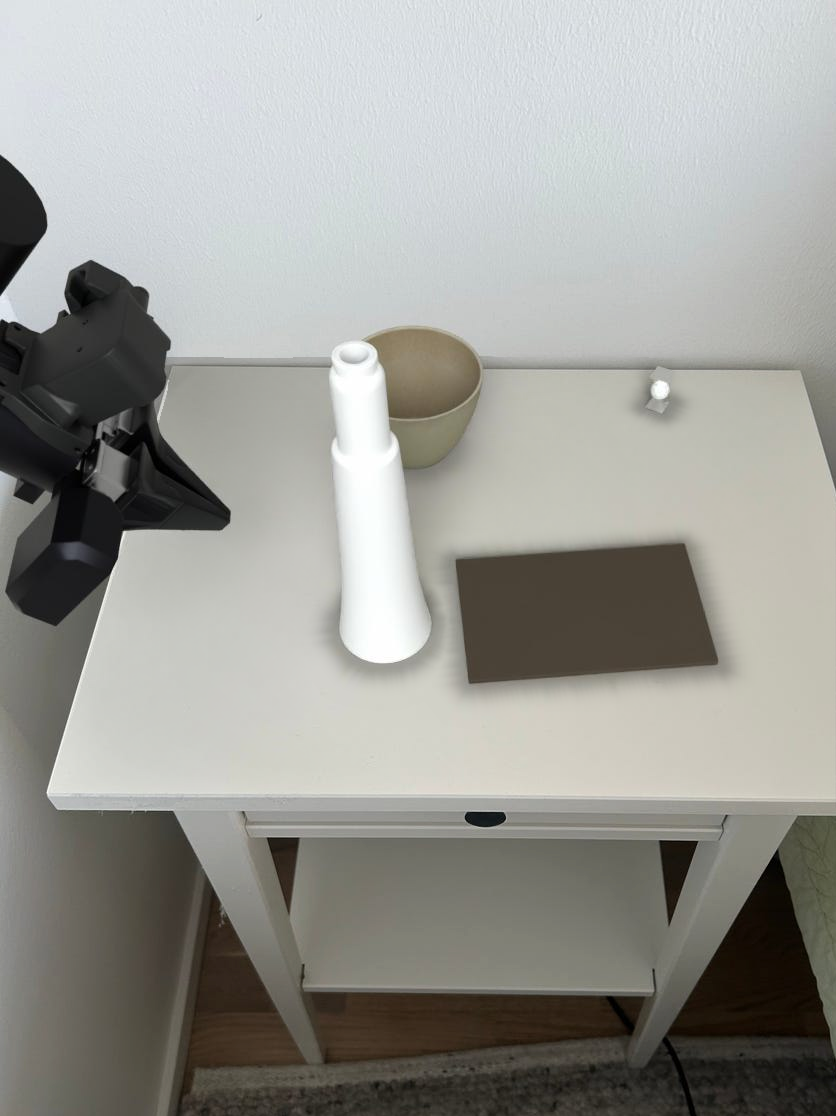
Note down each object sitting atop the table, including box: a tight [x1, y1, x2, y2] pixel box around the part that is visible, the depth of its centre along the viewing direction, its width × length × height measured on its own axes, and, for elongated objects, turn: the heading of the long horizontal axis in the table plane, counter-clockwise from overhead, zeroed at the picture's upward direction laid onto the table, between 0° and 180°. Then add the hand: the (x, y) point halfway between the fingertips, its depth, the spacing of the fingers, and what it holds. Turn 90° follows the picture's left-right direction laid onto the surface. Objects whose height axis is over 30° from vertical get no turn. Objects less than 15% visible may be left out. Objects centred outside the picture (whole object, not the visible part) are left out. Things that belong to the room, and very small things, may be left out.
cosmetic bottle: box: [328, 340, 433, 664], centre depth 57 cm, size 6×6×22 cm
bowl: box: [360, 325, 484, 470], centre depth 73 cm, size 10×10×7 cm
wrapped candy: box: [644, 365, 677, 414], centre depth 77 cm, size 2×2×3 cm
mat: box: [455, 543, 719, 685], centre depth 67 cm, size 16×10×1 cm, turn 96°
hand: (226, 521), depth 57 cm, fingers closed
